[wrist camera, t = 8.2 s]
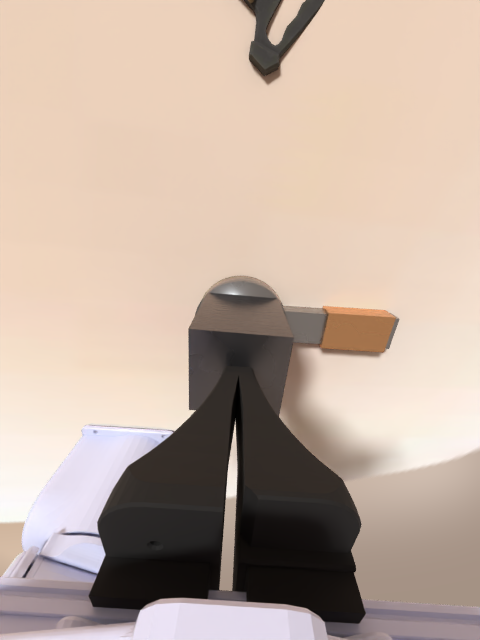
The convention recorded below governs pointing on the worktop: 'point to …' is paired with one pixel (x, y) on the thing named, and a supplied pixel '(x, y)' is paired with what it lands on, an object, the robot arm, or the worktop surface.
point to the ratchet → (322, 319)
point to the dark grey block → (239, 344)
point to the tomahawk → (268, 54)
